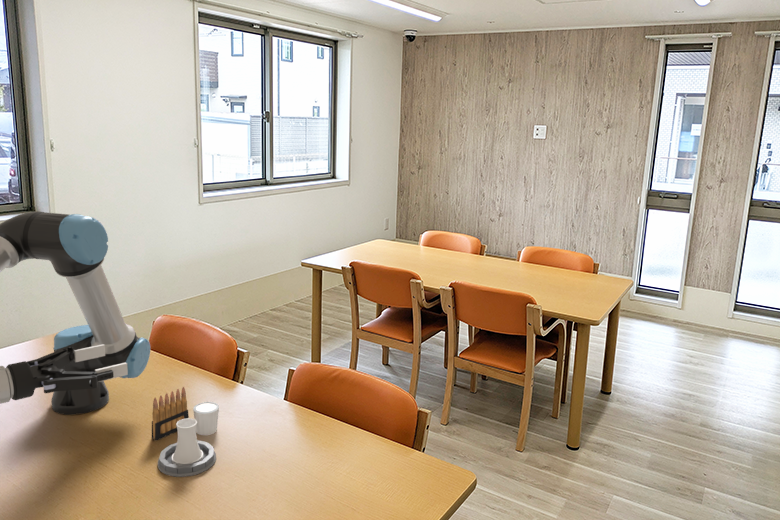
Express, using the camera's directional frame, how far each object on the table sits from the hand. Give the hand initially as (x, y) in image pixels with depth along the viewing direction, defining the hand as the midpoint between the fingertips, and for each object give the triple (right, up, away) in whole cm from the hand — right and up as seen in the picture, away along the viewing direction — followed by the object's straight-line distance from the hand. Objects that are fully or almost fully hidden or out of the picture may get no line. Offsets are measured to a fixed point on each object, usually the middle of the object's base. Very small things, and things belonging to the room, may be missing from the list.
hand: (115, 358), depth 138 cm
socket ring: (+12, -28, +14) cm, 34 cm away
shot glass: (+12, -25, +29) cm, 40 cm away
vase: (+12, -28, +14) cm, 33 cm away
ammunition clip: (+3, -25, +27) cm, 37 cm away
